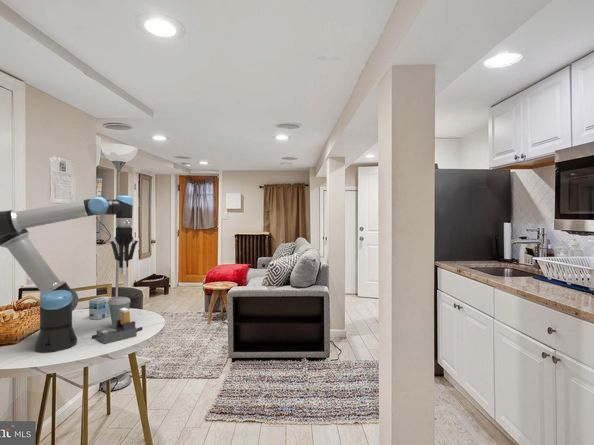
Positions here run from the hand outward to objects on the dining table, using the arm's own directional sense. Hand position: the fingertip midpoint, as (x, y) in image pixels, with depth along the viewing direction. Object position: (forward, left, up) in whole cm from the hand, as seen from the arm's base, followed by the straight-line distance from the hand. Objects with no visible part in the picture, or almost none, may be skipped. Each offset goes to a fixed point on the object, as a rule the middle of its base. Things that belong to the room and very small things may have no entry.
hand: (123, 274), depth 178 cm
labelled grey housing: (-7, -10, -28) cm, 30 cm away
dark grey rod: (-6, -2, -28) cm, 29 cm away
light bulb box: (+2, +35, -28) cm, 45 cm away
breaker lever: (-3, -10, -23) cm, 25 cm away
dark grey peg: (+4, -7, -28) cm, 29 cm away
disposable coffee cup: (+1, +7, -28) cm, 29 cm away
